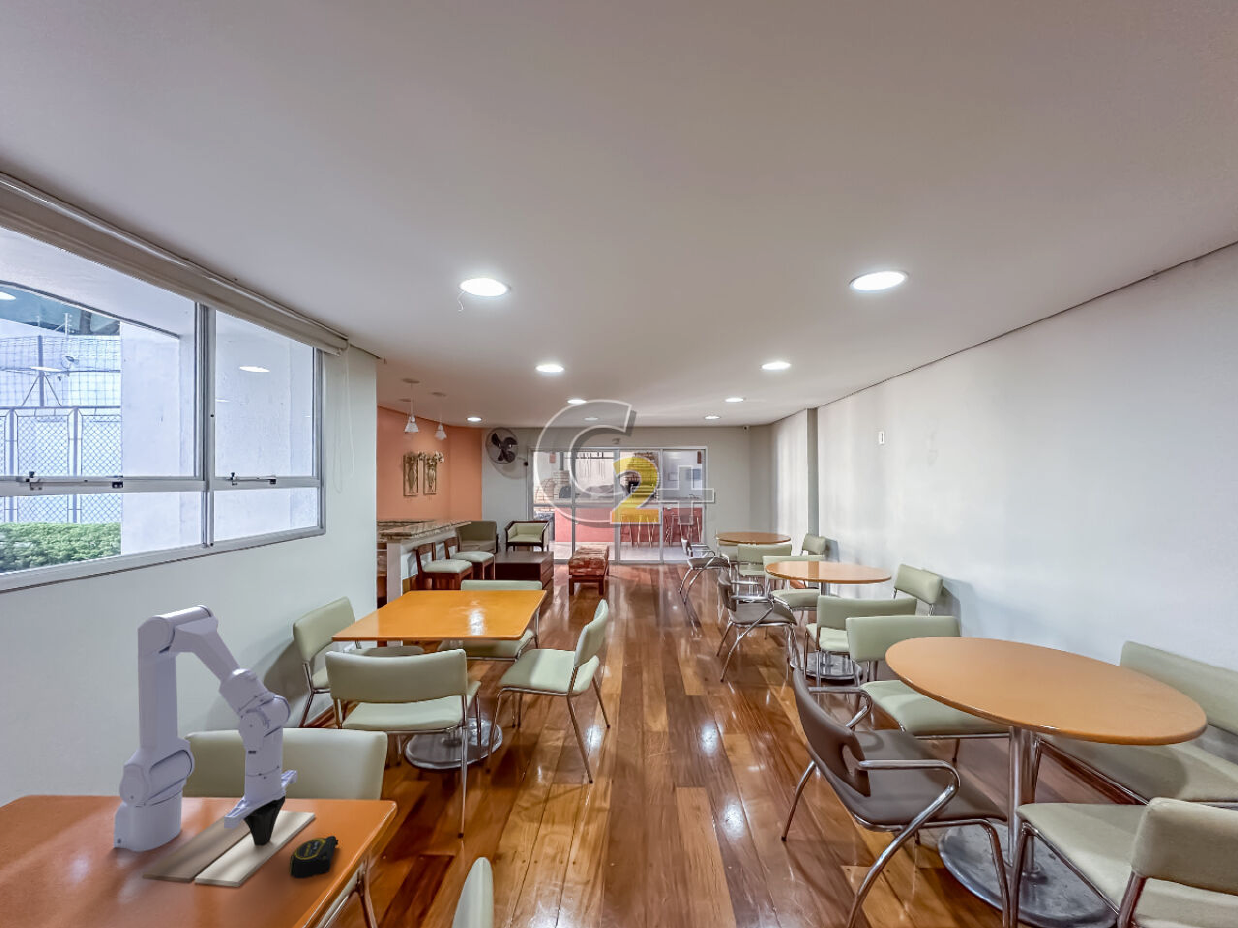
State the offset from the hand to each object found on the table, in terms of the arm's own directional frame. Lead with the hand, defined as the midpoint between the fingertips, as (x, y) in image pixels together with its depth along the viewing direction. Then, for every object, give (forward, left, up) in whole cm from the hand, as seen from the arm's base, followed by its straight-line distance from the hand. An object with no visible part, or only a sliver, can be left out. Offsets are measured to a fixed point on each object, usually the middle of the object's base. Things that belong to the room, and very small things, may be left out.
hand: (262, 842), depth 93 cm
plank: (-1, 0, -1) cm, 2 cm away
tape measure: (+13, -2, -2) cm, 13 cm away
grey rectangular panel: (-10, 0, -2) cm, 10 cm away
